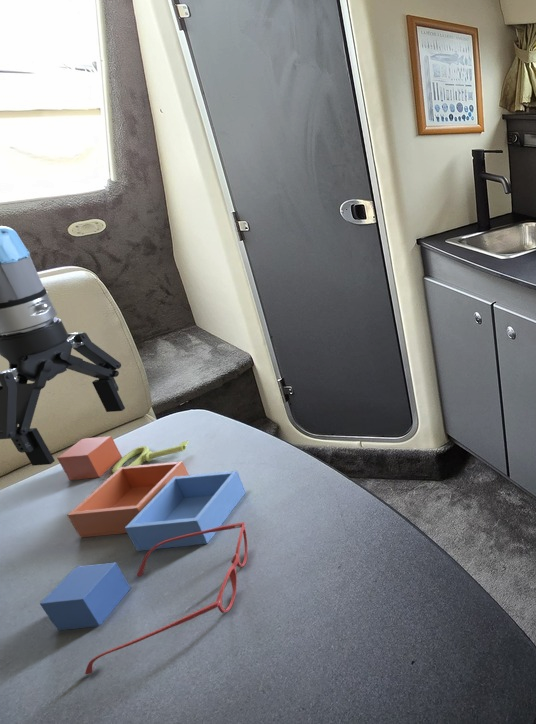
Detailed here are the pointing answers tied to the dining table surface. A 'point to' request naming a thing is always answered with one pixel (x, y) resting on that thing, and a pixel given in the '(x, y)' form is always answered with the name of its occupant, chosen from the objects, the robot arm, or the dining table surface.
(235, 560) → the red eyeglasses
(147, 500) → the terracotta bin
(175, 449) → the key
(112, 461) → the terracotta block
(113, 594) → the blue block
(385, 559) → the dining table surface
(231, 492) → the blue bin
